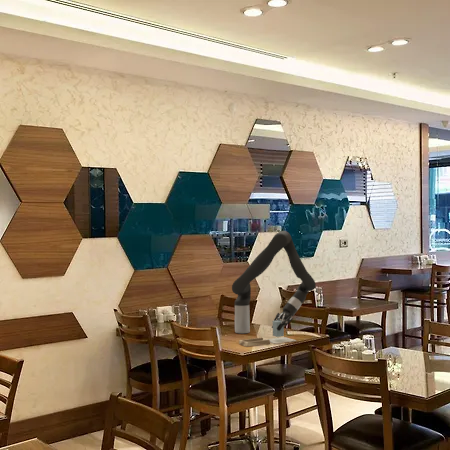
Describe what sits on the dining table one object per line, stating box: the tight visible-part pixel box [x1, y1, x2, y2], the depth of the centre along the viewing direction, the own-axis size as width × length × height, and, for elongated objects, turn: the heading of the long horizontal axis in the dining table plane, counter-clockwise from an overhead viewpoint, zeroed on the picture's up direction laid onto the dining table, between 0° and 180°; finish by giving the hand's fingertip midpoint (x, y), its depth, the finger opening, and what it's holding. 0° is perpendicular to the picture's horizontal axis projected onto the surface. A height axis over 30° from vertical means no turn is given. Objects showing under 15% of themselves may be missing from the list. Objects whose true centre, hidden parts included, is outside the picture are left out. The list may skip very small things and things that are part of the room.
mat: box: [264, 336, 297, 345], centre depth 337 cm, size 12×15×1 cm
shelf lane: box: [238, 336, 271, 348], centre depth 329 cm, size 8×15×2 cm, turn 118°
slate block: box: [272, 319, 285, 338], centre depth 337 cm, size 5×5×8 cm
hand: (275, 329), depth 336 cm, fingers closed on slate block, 4 cm apart
